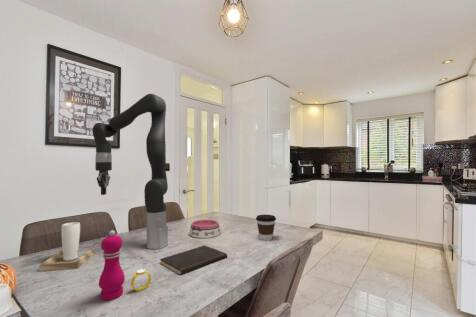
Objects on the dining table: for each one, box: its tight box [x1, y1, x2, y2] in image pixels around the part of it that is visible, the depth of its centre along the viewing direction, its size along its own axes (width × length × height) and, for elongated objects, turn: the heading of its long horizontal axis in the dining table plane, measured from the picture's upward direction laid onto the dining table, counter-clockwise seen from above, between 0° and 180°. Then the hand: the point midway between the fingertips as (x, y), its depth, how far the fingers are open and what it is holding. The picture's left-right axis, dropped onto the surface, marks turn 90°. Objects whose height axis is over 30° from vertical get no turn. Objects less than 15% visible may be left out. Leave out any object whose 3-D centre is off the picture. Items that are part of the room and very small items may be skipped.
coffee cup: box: [255, 214, 277, 242], centre depth 131 cm, size 11×11×12 cm
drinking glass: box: [60, 221, 81, 262], centre depth 106 cm, size 7×7×15 cm
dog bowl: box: [188, 219, 222, 240], centre depth 142 cm, size 18×19×7 cm
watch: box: [130, 268, 152, 292], centre depth 80 cm, size 6×3×6 cm, turn 130°
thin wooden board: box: [38, 247, 96, 272], centre depth 103 cm, size 17×13×2 cm
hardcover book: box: [159, 245, 228, 276], centre depth 103 cm, size 16×23×2 cm
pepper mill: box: [98, 229, 126, 301], centre depth 76 cm, size 7×7×20 cm
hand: (103, 194), depth 128 cm, fingers closed
